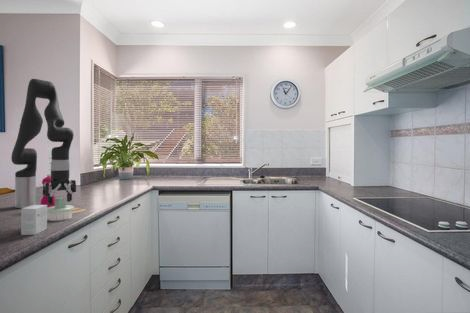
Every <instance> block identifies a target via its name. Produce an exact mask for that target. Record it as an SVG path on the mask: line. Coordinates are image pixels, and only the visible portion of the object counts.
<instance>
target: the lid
mask: <svg viewBox="0 0 470 313" xmlns="http://www.w3.org/2000/svg"><path fill="white" fill-rule="evenodd" d="M66 202H67V197H57V198H56V197H55V206H52V207H48V208H47V212H64V211H70V210H73V209H74V207H75V206H74V205H72V204H71V205H70V204H67V205H66Z"/></svg>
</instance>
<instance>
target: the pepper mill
mask: <svg viewBox="0 0 470 313" xmlns="http://www.w3.org/2000/svg"><path fill="white" fill-rule="evenodd" d="M44 182H45V183H50V182H51V173H47V175H46V177H44V178H43V179H42V181H41V183H42V185H43V183H44ZM51 187H52V186H51V185H50V187H49V190H50V189H51ZM52 197H53V204H52V205H49V204H48V203H47V196H44V195H42V198H41V200H40V205H47V208H48V207H52V206H55V198H56V196H55V193H54V194H53V196H52Z"/></svg>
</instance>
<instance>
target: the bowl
mask: <svg viewBox="0 0 470 313" xmlns="http://www.w3.org/2000/svg"><path fill="white" fill-rule="evenodd" d="M71 218H73V213H72V210H70V211H64V212H47V221H55V222H56V221H63V220H64V221H65V220H70V219H71Z"/></svg>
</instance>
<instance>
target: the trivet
mask: <svg viewBox="0 0 470 313" xmlns="http://www.w3.org/2000/svg"><path fill="white" fill-rule="evenodd" d="M86 211H87V209H85V208H78V207H75V206H74V209H73V210H72V214H75V213H79V212H80V213H81V212H86Z"/></svg>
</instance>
